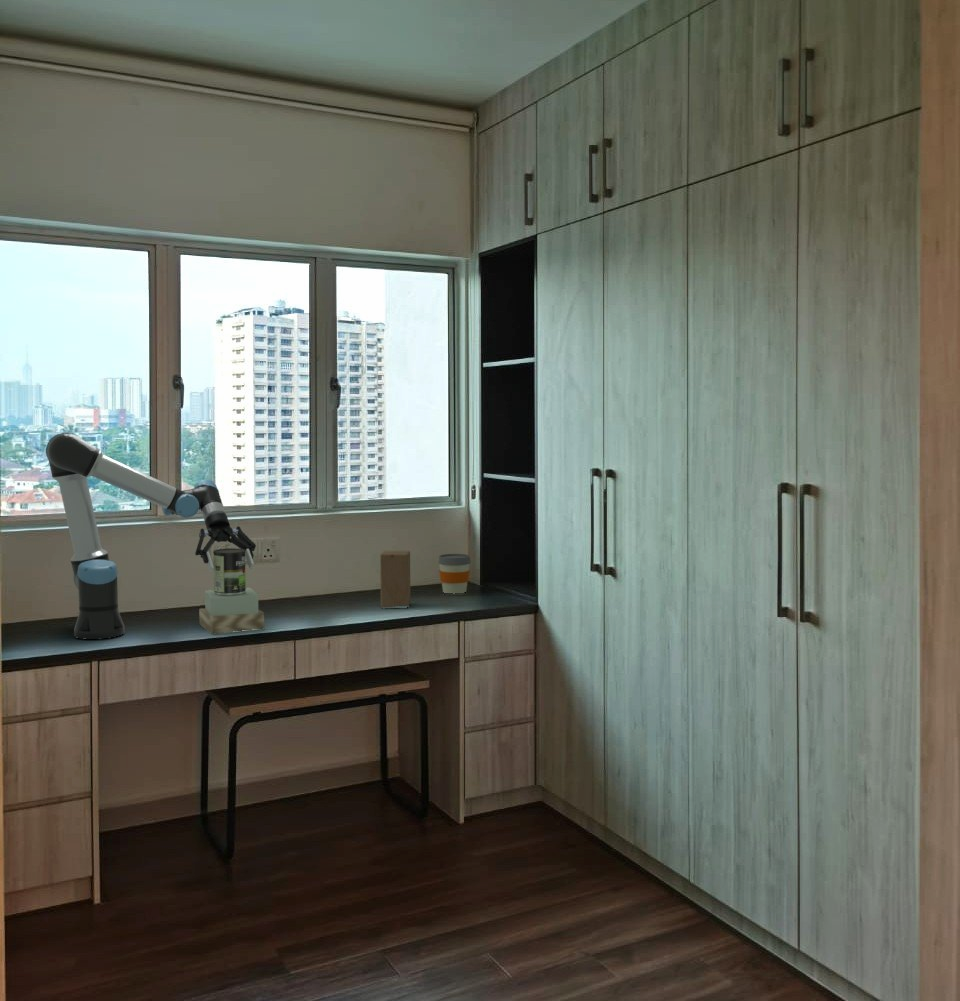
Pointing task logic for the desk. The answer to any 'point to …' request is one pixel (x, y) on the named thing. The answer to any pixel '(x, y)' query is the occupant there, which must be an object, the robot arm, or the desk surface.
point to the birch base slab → (231, 622)
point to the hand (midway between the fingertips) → (232, 568)
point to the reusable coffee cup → (454, 572)
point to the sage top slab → (231, 603)
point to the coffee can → (229, 571)
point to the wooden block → (395, 578)
